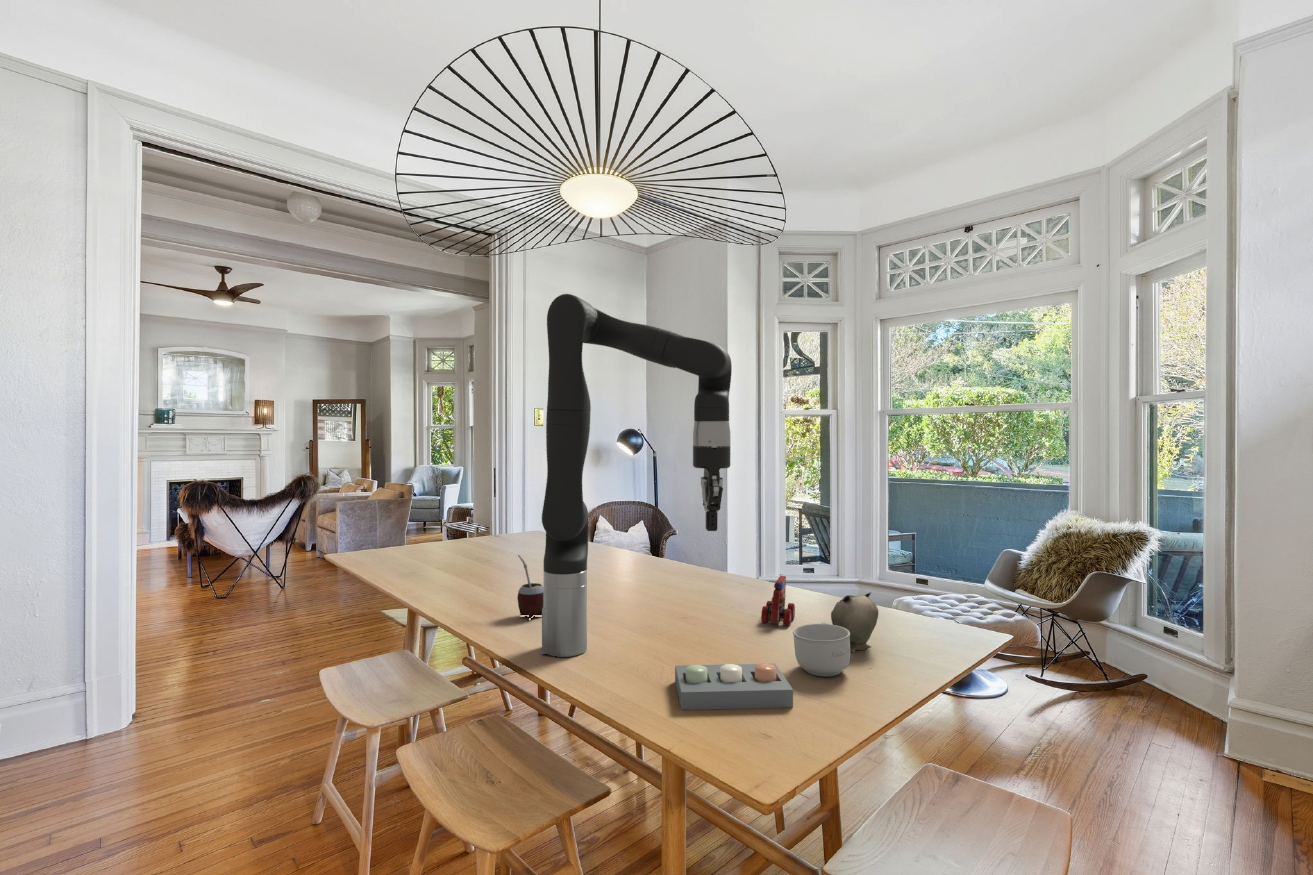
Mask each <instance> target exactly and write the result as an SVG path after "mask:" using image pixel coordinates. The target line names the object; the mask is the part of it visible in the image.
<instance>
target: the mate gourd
mask: <svg viewBox="0 0 1313 875" xmlns="http://www.w3.org/2000/svg"><path fill="white" fill-rule="evenodd" d="M518 558H519V559H520V561H521V563H522V564H523V568H524V571H525V576H526V580H527V583H525V584H522V585H521V586H520V587H519V589H518V592H517V605H518V610H519V613H520V614H519V615H529V618H531V617H532V616H533V615H542V609H543V607H544V585H542V584H541V583H537V582H534V583H532V582H531V580H530V576H529V571H528V564H527V563H526V561H525V560H524V559H523V557H522V556H521V555H520V554H518Z"/></svg>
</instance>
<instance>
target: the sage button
mask: <svg viewBox="0 0 1313 875" xmlns="http://www.w3.org/2000/svg"><path fill="white" fill-rule="evenodd" d="M689 665H690V666H688V667H686V683H707V668H706V667H705V666H702V665H703V664H692V665H691V664H689Z"/></svg>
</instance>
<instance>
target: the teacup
mask: <svg viewBox="0 0 1313 875" xmlns="http://www.w3.org/2000/svg"><path fill="white" fill-rule="evenodd" d="M792 634H793V645H794V654H795V659H796V662H797V664H798V665H799V666H800V668H802V669H803V670H805V672H807V673H808V674H809V675H813V676H816V677H824V678H825V677H834V676H837V675H840V674H841V673H842V671H844V670H846V669H847V667H848V666H849V664H850V660H851V652H850V632H849V630H847V629H846V628H844V627H841V626H837V625H833V624H830V623H829V622H828V621H822V622H821V623H809V624H803V625H799V626H797V627H795V628H793V630H792Z"/></svg>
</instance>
